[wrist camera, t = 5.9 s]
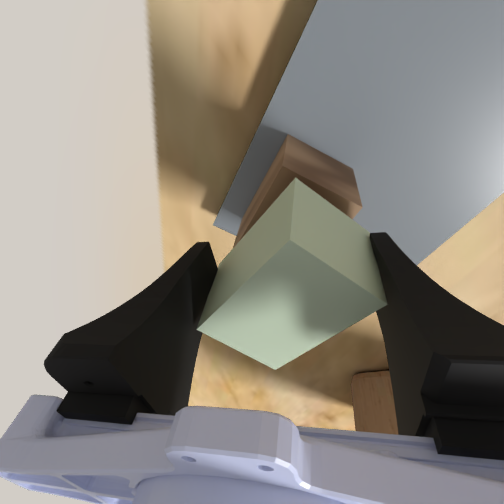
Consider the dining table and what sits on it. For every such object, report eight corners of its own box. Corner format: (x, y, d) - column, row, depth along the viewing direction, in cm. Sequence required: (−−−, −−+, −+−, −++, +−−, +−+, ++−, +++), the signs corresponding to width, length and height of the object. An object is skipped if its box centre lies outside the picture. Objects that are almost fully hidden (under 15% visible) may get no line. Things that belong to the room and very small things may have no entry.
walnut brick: (352, 169, 16) (362, 207, 13) (296, 244, 20) (294, 287, 17) (287, 133, 16) (282, 165, 13) (242, 218, 19) (229, 258, 16)
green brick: (369, 232, 13) (387, 304, 10) (282, 301, 16) (275, 370, 13) (295, 177, 12) (289, 239, 9) (219, 264, 15) (196, 329, 12)
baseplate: (617, 72, 13) (640, 78, 12) (372, 288, 23) (375, 299, 22) (367, -108, 11) (373, -118, 10) (217, 215, 21) (212, 225, 20)
